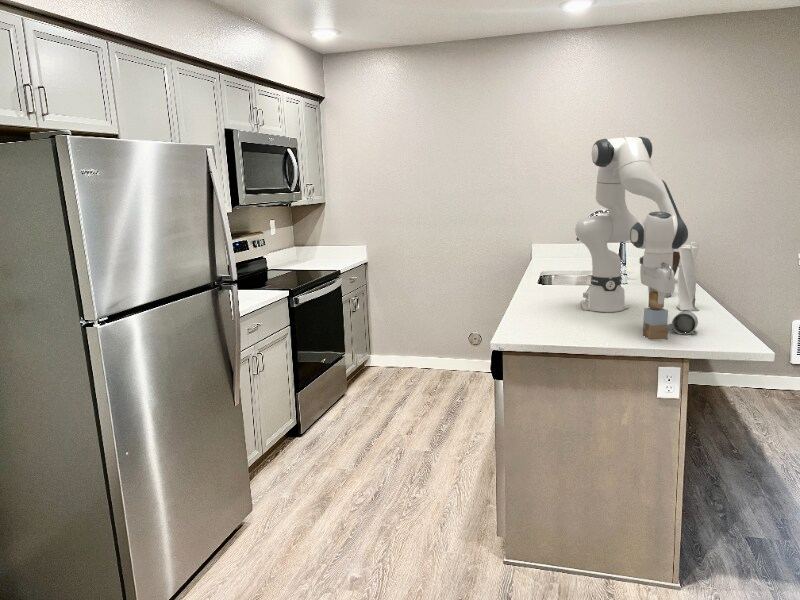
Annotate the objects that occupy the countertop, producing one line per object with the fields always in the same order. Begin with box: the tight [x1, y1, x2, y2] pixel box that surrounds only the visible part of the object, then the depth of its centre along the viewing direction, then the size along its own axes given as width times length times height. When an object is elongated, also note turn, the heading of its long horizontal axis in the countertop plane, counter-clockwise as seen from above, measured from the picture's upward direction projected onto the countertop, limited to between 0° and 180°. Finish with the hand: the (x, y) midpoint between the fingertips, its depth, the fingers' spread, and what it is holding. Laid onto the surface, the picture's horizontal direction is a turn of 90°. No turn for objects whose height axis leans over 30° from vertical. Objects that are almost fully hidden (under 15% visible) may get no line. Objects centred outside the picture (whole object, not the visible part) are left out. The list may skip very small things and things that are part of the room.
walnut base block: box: [642, 321, 669, 340], centre depth 204 cm, size 6×6×5 cm
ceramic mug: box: [667, 311, 699, 336], centre depth 209 cm, size 11×8×8 cm
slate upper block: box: [643, 307, 669, 326], centre depth 203 cm, size 6×6×5 cm
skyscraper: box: [676, 241, 700, 311], centre depth 242 cm, size 8×8×28 cm
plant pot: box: [672, 250, 681, 277], centre depth 304 cm, size 15×15×16 cm
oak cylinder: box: [647, 291, 665, 309], centre depth 202 cm, size 5×5×5 cm
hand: (656, 301), depth 202 cm, fingers closed on oak cylinder, 5 cm apart
